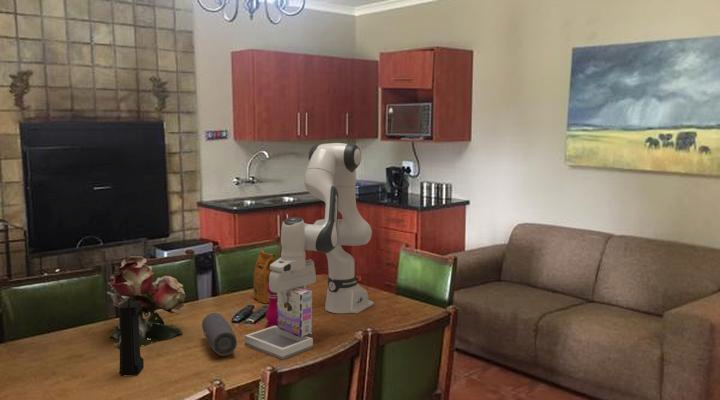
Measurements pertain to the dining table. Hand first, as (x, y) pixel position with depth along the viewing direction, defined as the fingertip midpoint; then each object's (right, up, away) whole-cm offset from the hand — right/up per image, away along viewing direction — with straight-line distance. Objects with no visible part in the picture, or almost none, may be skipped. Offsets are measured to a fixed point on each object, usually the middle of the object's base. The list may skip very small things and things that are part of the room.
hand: (293, 299), depth 224 cm
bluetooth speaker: (-26, -17, -4) cm, 31 cm away
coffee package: (-18, -9, +53) cm, 57 cm away
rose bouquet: (-58, -15, +10) cm, 61 cm away
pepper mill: (-9, -14, +18) cm, 24 cm away
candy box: (0, -12, +2) cm, 12 cm away
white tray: (-5, -16, -3) cm, 17 cm away
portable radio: (-50, -19, -25) cm, 59 cm away
